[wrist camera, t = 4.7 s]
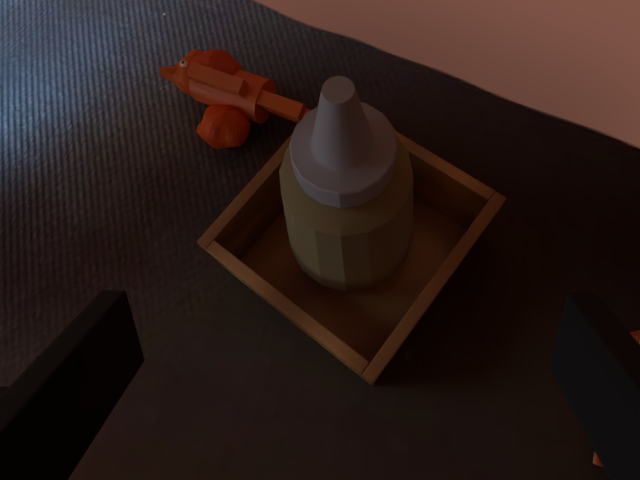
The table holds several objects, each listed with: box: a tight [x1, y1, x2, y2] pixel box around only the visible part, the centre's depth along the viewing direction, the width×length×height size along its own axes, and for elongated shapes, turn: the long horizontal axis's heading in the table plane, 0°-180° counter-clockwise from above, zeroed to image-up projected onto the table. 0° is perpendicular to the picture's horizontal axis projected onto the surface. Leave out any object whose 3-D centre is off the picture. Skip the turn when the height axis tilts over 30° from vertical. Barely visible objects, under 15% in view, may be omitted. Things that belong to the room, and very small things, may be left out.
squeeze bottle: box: [279, 76, 413, 291], centre depth 24 cm, size 8×8×18 cm
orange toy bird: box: [160, 49, 311, 149], centre depth 35 cm, size 5×8×12 cm
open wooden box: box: [197, 104, 506, 386], centre depth 30 cm, size 14×14×6 cm
